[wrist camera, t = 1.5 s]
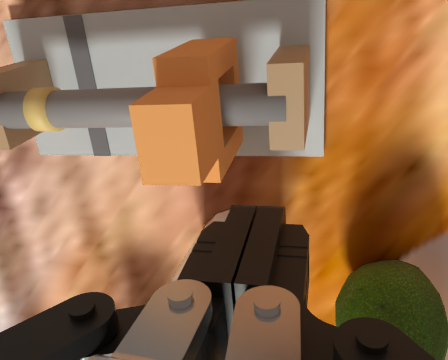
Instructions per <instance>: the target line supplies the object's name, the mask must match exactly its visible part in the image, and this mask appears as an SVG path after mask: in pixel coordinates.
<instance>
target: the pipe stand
mask: <svg viewBox="0 0 448 360" xmlns="http://www.w3.org/2000/svg"><path fill="white" fill-rule="evenodd" d="M3 24H4V28H5V32H6V35H7V39H8V42H9V46H10V49H11V53H12V56H13V60H14V64H10V65H6V66H3V67H0V150H11V149H13V148H14V147H16V146H18V145H20V144H22V143H23V142H25V141H27V140H29V139H31V138H33V137H34V136H35V138H36V142H37V145H38V149H39V152H40V155H94V156H111V155H137V150H136V144H135V139H134V133H133V128H132V122H131V117H130V111H129V106H128V105H130V104H132V103H133V102H135V101H136V100H138V99H139V98H141V97H142V96H144V95H145V94H147V93H149V92H150V91H152V90H153V89H155V88H156V82H155V76H154V69H153V62H152V58H154V57H156V56H158V55H160V54H162V53H164V52H166V51H169V50H171V49H173V48H175V47H177V46H179V45H181V44H183V43H186V42H188V41H190V40H194V39H211V38H227V37H236V40H237V54H238V69H239V83H240V84H219V95H220V106H221V117H222V126H243V142H242V144H241V146H240V148H239V150H238V152H237V153H236V155H235V156H324V104H325V27H326V0H242V1H230V2H218V3H206V4H194V5H182V6H170V7H157V8H145V9H133V10H121V11H109V12H97V13H85V14H73V15H60V16H48V17H36V18H24V19H12V20H5V21H3Z"/></svg>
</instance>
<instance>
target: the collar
mask: <svg viewBox="0 0 448 360" xmlns="http://www.w3.org/2000/svg"><path fill="white" fill-rule="evenodd" d="M152 62H153V69H154V76H155V82H156V88H155V89H153V90H152V91H150V92H149V93H147V94H145V95H144V96H142V97H141V98H139V99H138V100H136V101H135V102H133V103H132V104H130V105H128V106H129V111H130V117H131V122H132V128H133V133H134V139H135V144H136V150H137V155H138V161H139V167H140V172H141V178H142V183H143V185H178V186H201V185H202V184H203V183H221V181H222V179H223V178H224V176H225V174H226V172H227V170H228V168H229V166H230V165H231V163H232V161H233V159H234V157H235V155H236V153H237V152H238V150H239V148H240V146H241V144H242V142H243V126H222V117H221V106H220V95H219V84H240V83H239V69H238V54H237V40H236V37H227V38H211V39H194V40H190V41H188V42H186V43H183V44H181V45H179V46H177V47H175V48H173V49H171V50H169V51H166V52H164V53H162V54H160V55H158V56H156V57H154V58H152Z"/></svg>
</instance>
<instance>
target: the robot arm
mask: <svg viewBox="0 0 448 360" xmlns="http://www.w3.org/2000/svg"><path fill="white" fill-rule="evenodd" d="M308 288H309V235H308V233H307V231H306V230H305V228H304V227H303V225H294V224H286V215H285V207H273V206H259V207H257V206H240V205H232V206H231V208H230V211H229V213H228V215H227V218H226V220H225V222H221V221H213V222H212V223H211V224H210V225H208V226H207V227H206V228H204V229H203V230H202V231H201V233H200V235H199V237H198V239H197V243H195V245H194V247H193V249H192V252H191V253H190V255H189V257H188V259H187V261H186V263H185V265H184V267H183V269H182V271H181V273H180V275H179V277H178V279H177V280H176V281H172V282H169V283H167V284H165V285H163V286H162V287H160V288H159V289H158V290H156V291H155V293H154V294H153V295H152V297H151V298H150V300H149V301H148V303H147V304H146V305H142V306H137V307H130V308H123V309H117V310H116V307H115V303H114V300H113V299H112V298H111V297H110V296H109V295H107V294H104V293H100V292H89V293H84V294H80V295H77V296H74V297H72V298H70V299H68V300H66V301H64V302H62V303H60V304H58V305H56V306H54V307H52V308H49V309H47V310H45V311H43V312H41V313H39V314H37V315H35V316H33V317H31V318H29V319H27V320H25V321H23V322H21V323H19V324H17V325H15V326H13V327H11V328H8V329H6V330H4V331H2V332H0V360H436V359H435V358H434V357H432V356H431V355H430V354H429V353H427V352H426V351H425V350H424V349H423V348H421V347H420V346H419V345H418V344H417V343H415V342H414V341H413V340H412V339H411V338H409V337H408V336H407V335H406V334H405V333H403V332H402V331H401V330H400V329H398V328H397V327H396V326H394V325H392V324H390V323H388V322H386V321H384V320H380V319H377V318H371V317H358V318H353V319H350V320H347V321H346V322H344V323H342V324H341V325H340V326H339V327H336V326H334V325H331V324H328V323H326V322H323V321H322V320H320V319H318V318H317V317H315V316H314V315H313V314H312V313H311V312H310V311H309V310H308V309H307V301H308Z"/></svg>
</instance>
